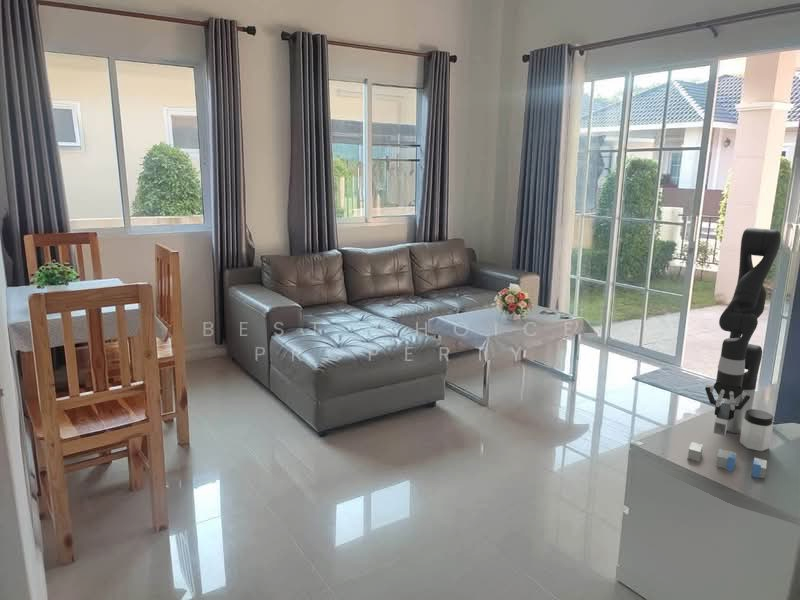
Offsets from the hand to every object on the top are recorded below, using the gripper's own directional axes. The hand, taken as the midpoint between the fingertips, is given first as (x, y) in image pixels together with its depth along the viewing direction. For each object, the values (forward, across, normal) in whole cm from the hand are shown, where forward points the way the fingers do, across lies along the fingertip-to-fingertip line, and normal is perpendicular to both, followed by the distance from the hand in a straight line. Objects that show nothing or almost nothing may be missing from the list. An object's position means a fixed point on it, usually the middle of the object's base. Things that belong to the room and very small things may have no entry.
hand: (723, 417), depth 193 cm
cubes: (+13, -3, +8) cm, 15 cm away
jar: (+13, -10, -13) cm, 21 cm away
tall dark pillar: (+2, 0, +2) cm, 2 cm away
